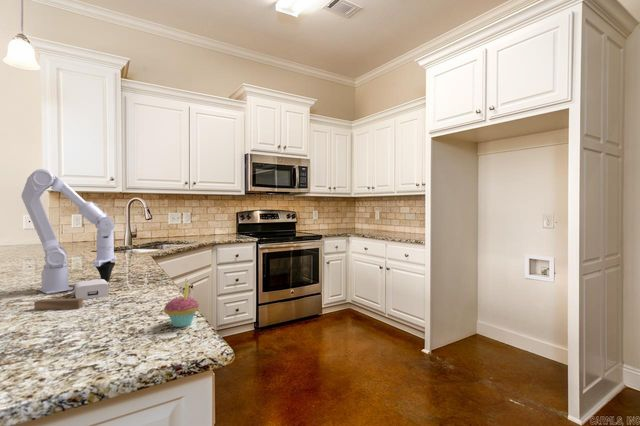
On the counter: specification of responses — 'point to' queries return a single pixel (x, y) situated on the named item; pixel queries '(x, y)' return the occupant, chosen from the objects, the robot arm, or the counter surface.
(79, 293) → the charger
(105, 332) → the counter surface
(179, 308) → the cupcake
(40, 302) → the bar
